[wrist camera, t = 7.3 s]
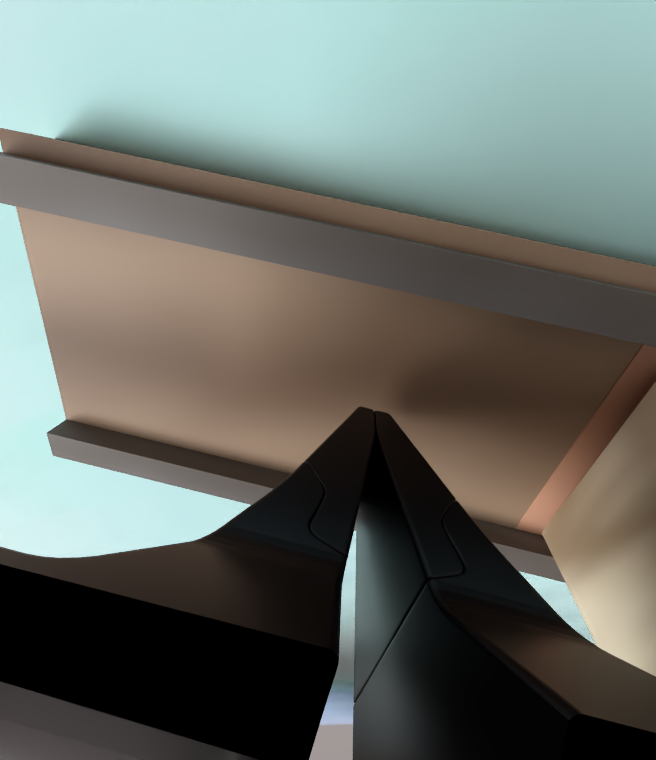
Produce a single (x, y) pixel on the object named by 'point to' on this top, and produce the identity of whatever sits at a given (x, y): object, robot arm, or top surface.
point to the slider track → (321, 335)
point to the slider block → (615, 541)
